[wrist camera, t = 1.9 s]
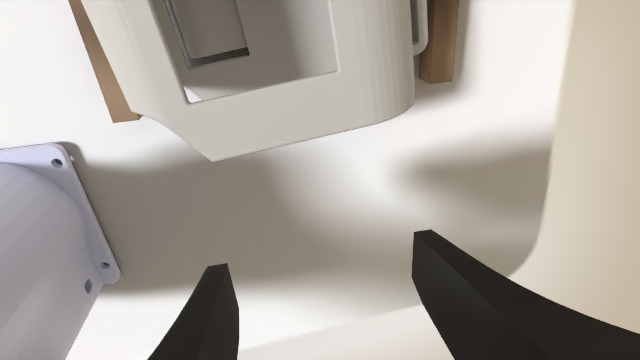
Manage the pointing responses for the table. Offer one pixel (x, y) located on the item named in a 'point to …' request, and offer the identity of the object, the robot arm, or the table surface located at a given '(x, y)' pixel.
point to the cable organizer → (263, 66)
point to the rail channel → (432, 59)
